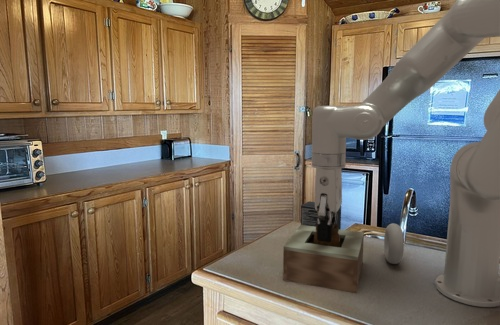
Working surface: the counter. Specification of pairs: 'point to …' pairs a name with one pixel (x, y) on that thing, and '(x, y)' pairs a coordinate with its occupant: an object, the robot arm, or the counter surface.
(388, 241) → the donut
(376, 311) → the counter surface
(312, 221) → the small box
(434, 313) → the counter surface
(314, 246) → the drop box
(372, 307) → the counter surface
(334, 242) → the utensil holder
